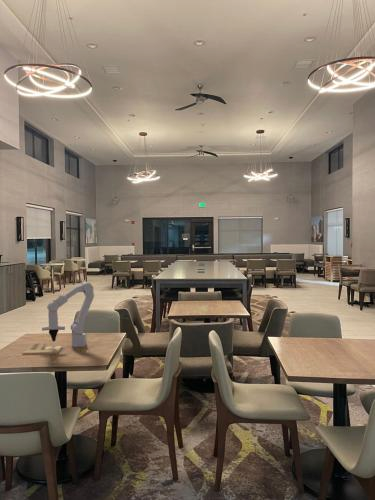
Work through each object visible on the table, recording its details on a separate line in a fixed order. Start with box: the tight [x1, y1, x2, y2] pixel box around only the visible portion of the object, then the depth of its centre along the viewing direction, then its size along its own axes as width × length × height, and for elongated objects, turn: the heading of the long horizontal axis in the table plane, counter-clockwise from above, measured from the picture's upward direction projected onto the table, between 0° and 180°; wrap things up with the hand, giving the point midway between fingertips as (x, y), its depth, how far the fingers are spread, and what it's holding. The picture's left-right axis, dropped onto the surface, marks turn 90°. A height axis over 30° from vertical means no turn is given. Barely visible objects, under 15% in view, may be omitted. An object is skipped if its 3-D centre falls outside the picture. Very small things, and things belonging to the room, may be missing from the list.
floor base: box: [22, 347, 64, 356], centre depth 264 cm, size 22×14×2 cm, turn 91°
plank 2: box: [44, 345, 64, 351], centre depth 267 cm, size 10×6×1 cm, turn 91°
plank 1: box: [26, 342, 46, 350], centre depth 266 cm, size 10×6×1 cm, turn 91°
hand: (54, 341), depth 268 cm, fingers closed
